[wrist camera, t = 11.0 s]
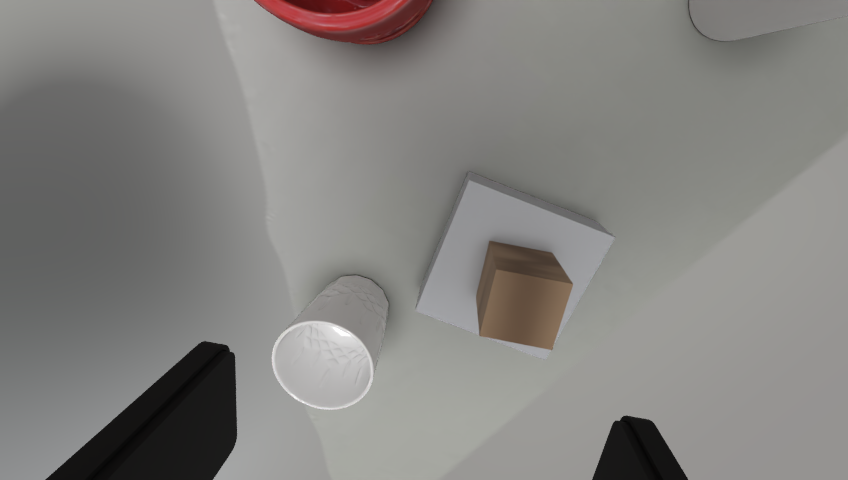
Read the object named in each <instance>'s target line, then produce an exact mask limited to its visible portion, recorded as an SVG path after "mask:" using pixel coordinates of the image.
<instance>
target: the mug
mask: <svg viewBox="0 0 848 480" xmlns="http://www.w3.org/2000/svg"><path fill="white" fill-rule="evenodd" d="M689 11H690V16H691V19H692V21H693V23H694V25H695V27H696V28H697V29H698V30H699V31H700V32H701V33H702V34H703V35H705V36H706V37H708V38H710V39H713V40H717V41H733V40H739V39H744V38H750V37H755V36H759V35H764V34H768V33H772V32H777V31H781V30H786V29H790V28H795V27H799V26H804V25H809V24H813V23H818V22H822V21H827V20H832V19H836V18H841V17H845V16H848V0H689Z"/></svg>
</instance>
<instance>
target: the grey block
mask: <svg viewBox="0 0 848 480" xmlns="http://www.w3.org/2000/svg"><path fill="white" fill-rule="evenodd" d="M614 239H615V236H613V235H612V234H611V233H610V232H609V231H607V230H606V229H605V228H604V227H602V226H601V225H600V224H599V223H598V222H596V221H594V220H592V219H589V218H587V217H584V216H581V215H579V214H576V213H574V212H571V211H569V210H566V209H564V208H561V207H558V206H556V205H553V204H551V203H548V202H546V201H543V200H541V199H538V198H535V197H533V196H530V195H528V194H525V193H523V192H520V191H518V190H515V189H513V188H510V187H507V186H505V185H502V184H500V183H497V182H495V181H492V180H490V179H487V178H484V177H482V176H479V175H477V174H474V173H472V172H469V171H468V173H467V176H466V178H465V181H464V183H463V186H462V188H461V190H460V193H459V195H458V198H457V200H456V203H455V205H454V207H453V210H452V212H451V215H450V217H449V220H448V222H447V224H446V227H445V229H444V232H443V234H442V237H441V239H440V241H439V244H438V246H437V249H436V251H435V254H434V256H433V258H432V261H431V263H430V266H429V268H428V271H427V273H426V275H425V278H424V280H423V283H422V285H421V288H420V292H419V296H418V300H417V304H416V309H415V311H417V312H419V313H422V314H424V315H427V316H430V317H432V318H435V319H438V320H440V321H443V322H446V323H448V324H451V325H453V326H456V327H459V328H461V329H464V330H467V331H469V332H472V333H474V334H477V335H479V325H478V314H477V304H476V295H477V290H478V286H479V282H480V278H481V274H482V269H483V265H484V261H485V257H486V253H487V248H488V244H489V241H494V242H499V243H504V244H510V245H515V246H520V247H525V248H531V249H536V250H541V251H546V252H552V253H553V254H554V256H555V257H556V259H557V260H558V262H559V263H560V265H561V266H562V268H563V269H564V271H565V272H566V274H567V275H568V277H569V278H570V280H571V281H572V283H573V287H572V290H571V293H570V296H569V299H568V302H567V305H566V308H565V312H564V315H563V318H562V321H561V324H560V327H559V330H558V333H557V336H556V339H555V342H556V340H557V339H558V337H559V335H560V333H561V332H562V330H563V328H564V326H565V325H566V323H567V321H568V320H569V318H570V316H571V314H572V313H573V311H574V309H575V307H576V306H577V304H578V302H579V300H580V299H581V297H582V295H583V293H584V292H585V290H586V288H587V286H588V285H589V283H590V281H591V279H592V278H593V276H594V274H595V272H596V271H597V269H598V267H599V265H600V264H601V262H602V260H603V258H604V257H605V255H606V253H607V251H608V250H609V248H610V246H611V244H612V243H613V241H614ZM485 338H487V337H485ZM488 339H490V340H493V341H496V342H498V343H501V344H503V345H506V346H509V347H511V348H514V349H517V350H519V351H522V352H525V353H527V354H530V355H532V356H535V357H538V358H540V359H543V360H546V358H547V356H548V354H549V353H550V351H551V350H548V349H543V348H538V347H533V346H528V345H523V344H518V343H513V342H508V341H503V340H497V339H492V338H488ZM554 344H555V343H554Z"/></svg>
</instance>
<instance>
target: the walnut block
mask: <svg viewBox="0 0 848 480" xmlns="http://www.w3.org/2000/svg"><path fill="white" fill-rule="evenodd" d="M572 287H573V283H572V281H571V280H570V278H569V277H568V275H567V274H566V272H565V271H564V269H563V268H562V266H561V265H560V263H559V262H558V260H557V259H556V257H555V256H554V254H553V253H552V252H546V251H541V250H536V249H531V248H525V247H520V246H515V245H510V244H504V243H499V242H494V241H489V244H488V248H487V253H486V257H485V261H484V265H483V269H482V274H481V278H480V282H479V286H478V290H477V295H476V304H477V314H478V325H479V336H482V337H487V338H492V339H497V340H503V341H508V342H513V343H518V344H523V345H528V346H533V347H538V348H543V349H548V350H552V349H553V346H554V343H555V339H556V336H557V333H558V330H559V327H560V324H561V321H562V318H563V315H564V312H565V308H566V305H567V302H568V299H569V296H570V293H571V290H572Z"/></svg>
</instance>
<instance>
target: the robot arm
mask: <svg viewBox="0 0 848 480" xmlns="http://www.w3.org/2000/svg"><path fill="white" fill-rule="evenodd" d="M236 439H237V417H236V379H235V355H234V353H232V352H230V350H229V348H228V346H227V345H223V344H217V343H212V342H206V341H204V342H201V343H200V344H198V345H197V346H196V347H195V348H194V349H193V350H191V351H190V352H189V353H188V354H187V355H186V356H185V357H184V358H182V359H181V360H180V361H179V362H178V363H177V364H176V365H175V366H173V367H172V368H171V369H170V370H169V371H168V372H167V373H165V374H164V375H163V376H162V377H161V378H160V379H159V380H158V381H156V382H155V383H154V384H153V385H152V386H151V387H150V388H148V389H147V390H146V391H145V392H144V393H143V394H142V395H141V396H139V397H138V398H137V399H136V400H135V401H134V402H133V403H132V404H130V405H129V406H128V407H127V408H126V409H125V410H124V411H123V412H121V413H120V414H119V415H118V416H117V417H116V418H115V419H113V420H112V421H111V422H110V423H109V424H108V425H107V426H106V427H105V428H103V429H102V430H101V431H100V432H99V433H98V434H97V435H95V436H94V437H93V438H92V439H91V440H90V441H89V442H88V443H86V444H85V445H84V446H83V447H82V448H81V449H80V450H78V451H77V452H76V453H75V454H74V455H73V456H72V457H71V458H69V459H68V460H67V461H66V462H65V463H64V464H63V465H62V466H60V467H59V468H58V469H57V470H56V471H55V472H54V473H53V474H51V475H50V476H49V477H48V478H47V479H46V480H213V479H214V477H215V475H216V474H217V473H218V471H219V470H220V468H221V466H222V465H223V464H224V462H225V461H226V459H227V458H228V456H229V455H230V453H231V451H232V450H233V448H234V446H235V443H236ZM592 480H688V479H687V477H686V475H685V474H684V472H683V470H682V469H681V467H680V465H679V464H678V462H677V460H676V459H675V457H674V455H673V454H672V452H671V450H670V449H669V447H668V445H667V444H666V442H665V440H664V439H663V437H662V436H661V434H660V432H659V431H658V429H657V428H656V426H655V424H654V423H653V422H652V421H650V420H647V419H642V418H635V417H631V416H623V417H622V418H621V420H620V421H615V422H614V423H613V425H612V428H611V430H610V433H609V435H608V438H607V441H606V444H605V446H604V449H603V452H602V455H601V458H600V460H599V463H598V465H597V468H596V471H595V474H594V476H593V479H592Z"/></svg>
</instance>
